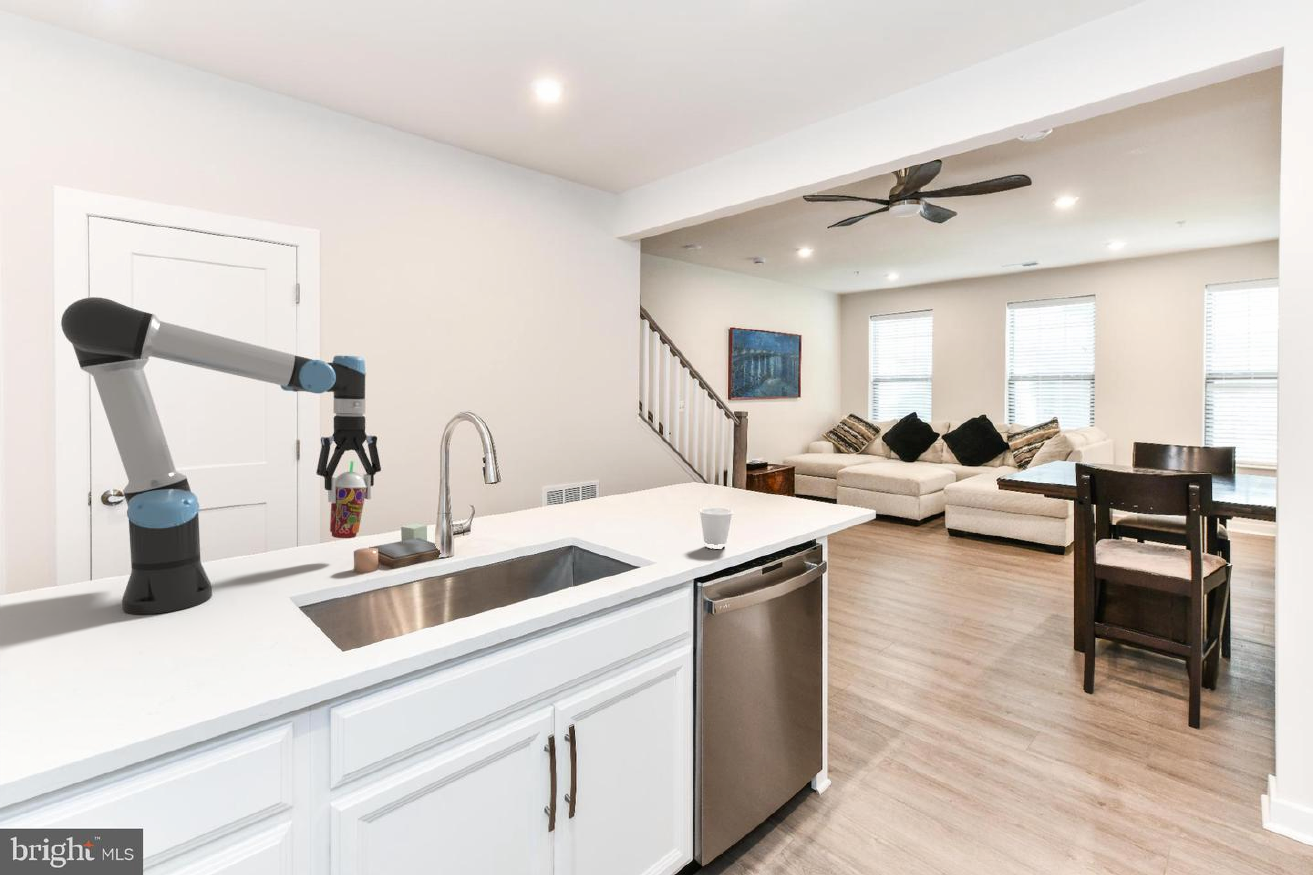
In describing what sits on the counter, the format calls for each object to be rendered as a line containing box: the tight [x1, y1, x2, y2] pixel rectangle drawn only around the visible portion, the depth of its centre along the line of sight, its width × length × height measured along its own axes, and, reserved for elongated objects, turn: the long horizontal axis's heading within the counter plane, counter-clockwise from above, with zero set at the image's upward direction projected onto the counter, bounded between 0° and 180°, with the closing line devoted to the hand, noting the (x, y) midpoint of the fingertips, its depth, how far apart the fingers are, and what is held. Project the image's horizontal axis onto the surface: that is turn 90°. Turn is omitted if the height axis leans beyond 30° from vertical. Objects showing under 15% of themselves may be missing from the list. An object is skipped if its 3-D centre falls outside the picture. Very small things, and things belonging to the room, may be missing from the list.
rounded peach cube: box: [353, 547, 379, 574], centre depth 159 cm, size 6×6×5 cm
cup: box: [698, 507, 734, 545], centre depth 186 cm, size 10×10×11 cm
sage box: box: [400, 523, 428, 541], centre depth 187 cm, size 5×5×5 cm
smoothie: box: [329, 461, 367, 539], centre depth 167 cm, size 8×8×20 cm
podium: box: [368, 538, 441, 570], centre depth 172 cm, size 16×16×3 cm
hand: (349, 500), depth 167 cm, fingers closed on smoothie, 8 cm apart
